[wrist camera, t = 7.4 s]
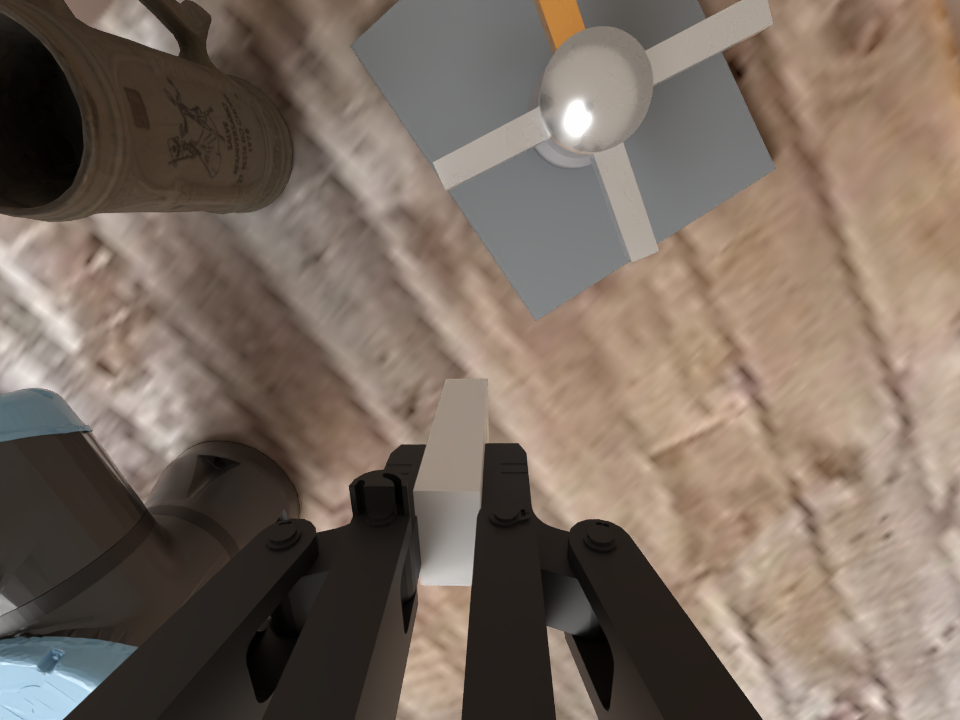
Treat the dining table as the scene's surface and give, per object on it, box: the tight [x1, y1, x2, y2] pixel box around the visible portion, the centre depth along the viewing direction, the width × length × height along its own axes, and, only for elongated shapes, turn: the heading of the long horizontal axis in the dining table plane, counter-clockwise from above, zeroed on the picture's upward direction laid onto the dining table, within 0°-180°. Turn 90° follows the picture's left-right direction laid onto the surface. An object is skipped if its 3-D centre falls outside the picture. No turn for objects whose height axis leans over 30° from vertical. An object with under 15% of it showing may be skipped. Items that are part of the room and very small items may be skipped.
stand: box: [350, 0, 776, 321], centre depth 30 cm, size 22×26×14 cm
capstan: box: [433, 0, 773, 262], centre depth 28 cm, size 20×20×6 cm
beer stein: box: [0, 0, 292, 222], centre depth 30 cm, size 15×11×20 cm
